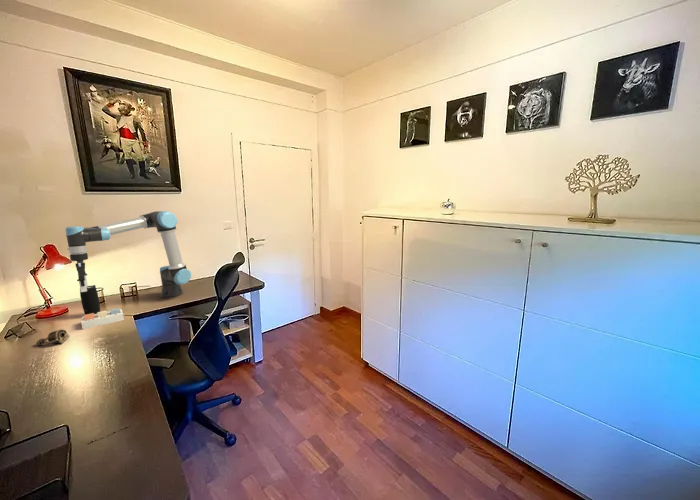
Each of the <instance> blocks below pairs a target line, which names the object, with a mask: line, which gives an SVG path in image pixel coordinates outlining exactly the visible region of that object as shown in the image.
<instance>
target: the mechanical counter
mask: <svg viewBox="0 0 700 500" xmlns="http://www.w3.org/2000/svg"><path fill="white" fill-rule="evenodd" d="M69 338H70V334H68V331H67V330H65V329H63V328H61V329H58V330H54V331H51V332H50V333H48V335H47V337H46V338H40V339H38V340H37V341H36V343H35V345H36V347H41V346H45V345H49V344H51V345H56V344H60V345H63V344H64V343H65V342H66V341H67V340H68V339H69ZM46 341H47V342H46Z"/></svg>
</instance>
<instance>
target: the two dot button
mask: <svg viewBox="0 0 700 500" xmlns="http://www.w3.org/2000/svg"><path fill="white" fill-rule="evenodd" d="M107 312H108V310H100V312H97V315H98V317H103V316H107Z"/></svg>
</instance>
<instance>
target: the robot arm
mask: <svg viewBox="0 0 700 500" xmlns="http://www.w3.org/2000/svg"><path fill="white" fill-rule="evenodd" d="M177 224H178V218H177V215H175V214H174V213H172V211H169V210H168V211H167V210H162V211H161V210H159V211H157V210H156V211H152V212H149V213H144V214H141V215H139V216H138V217H133V218H129V219H124V220H120V221H115V222H109V223H105V224H101V225H96V226H91V227H83V226H82V225H75V226H67V227H65V237H66V241H67V245H68V246H67V247H68V248H67V251H69V252H68V253H69V258H70V261H71V262H76V263H75V268H76V271H77V275H78V276H77V277H78V279H76V280H77V282H79V283H78V285H79V291H80V290H81V292H85V291H87V287H88V286H89V285H88V280H87V276H88V273H86V262H84V261H86V260H88V259H89V255H88V253H87V252H88V250H87V249H88V248H87V243H91V242H101V241H102V242H105V241H108V240H109V241H110V239H111V236H113V235H118V234H122V233H126V232H130V231H133V230H139V229H150V228H156V230H157V232H158V233H159V234H160V236H161V239H162V243H163V246H164V247H163V248H164V250H165V254H166V257H167V261H168V265H164V266H161V267H160V268H159V273H160V280H161V281H160V282H161V291H160V297H161V298H174V297H178V296H181V295H183V294H184V290H183V288H182V287H183V286H181V285H185V284H188V282H189V281H190V280H191V279H192V272H191V270H189V269H188V268H187V264H186V263H184V262H183V258H182V254H181V251H180V246H179V243H178V239H177V235H176V230H177V227H176V226H177Z"/></svg>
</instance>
